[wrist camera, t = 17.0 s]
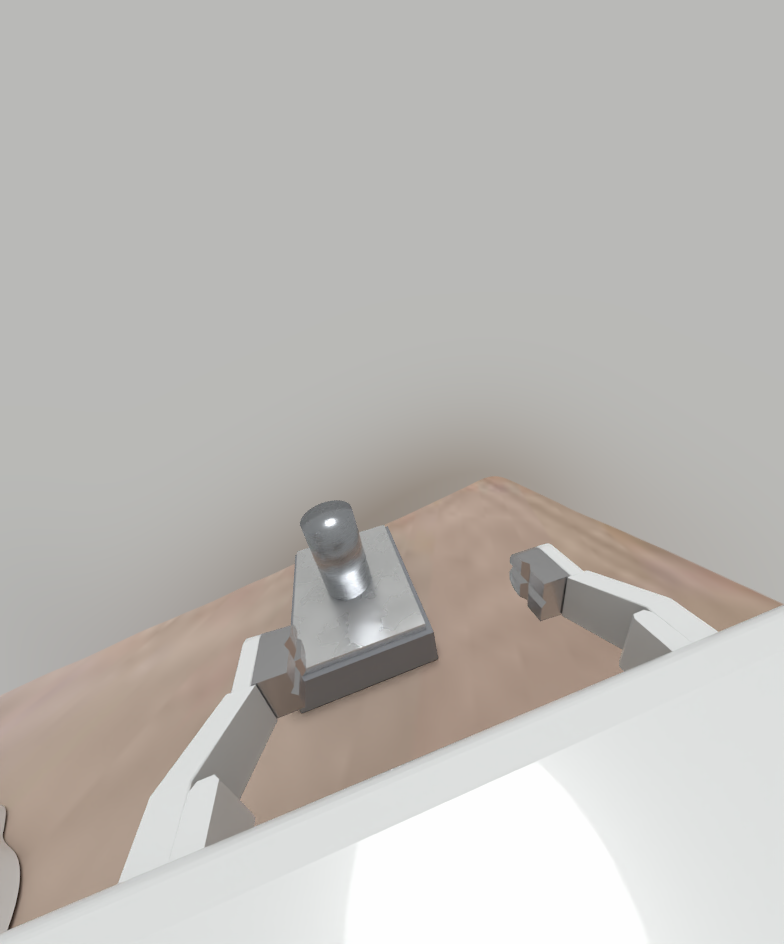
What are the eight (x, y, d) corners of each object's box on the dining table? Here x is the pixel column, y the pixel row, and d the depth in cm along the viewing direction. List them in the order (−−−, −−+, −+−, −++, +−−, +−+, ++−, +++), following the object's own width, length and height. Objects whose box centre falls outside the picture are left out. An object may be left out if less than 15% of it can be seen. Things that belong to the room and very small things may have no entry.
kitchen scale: (301, 713, 25) (283, 682, 23) (304, 573, 41) (293, 547, 39) (438, 658, 27) (432, 626, 25) (391, 545, 43) (385, 519, 41)
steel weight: (327, 607, 29) (298, 539, 25) (325, 571, 33) (301, 509, 29) (375, 591, 30) (354, 522, 25) (367, 558, 34) (348, 495, 30)
